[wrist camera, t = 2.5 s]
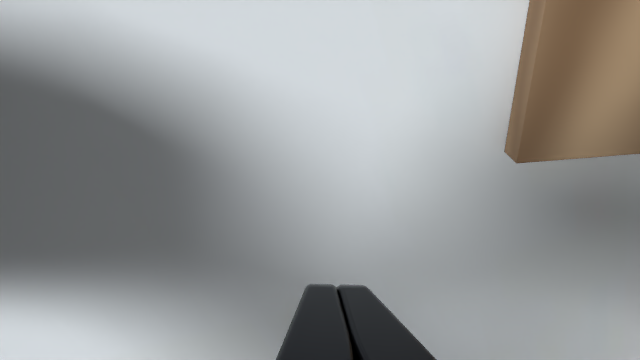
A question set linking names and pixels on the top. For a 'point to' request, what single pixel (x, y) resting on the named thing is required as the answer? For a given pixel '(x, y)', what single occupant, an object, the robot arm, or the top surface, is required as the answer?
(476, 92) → the top surface
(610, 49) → the tuner board
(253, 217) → the top surface
